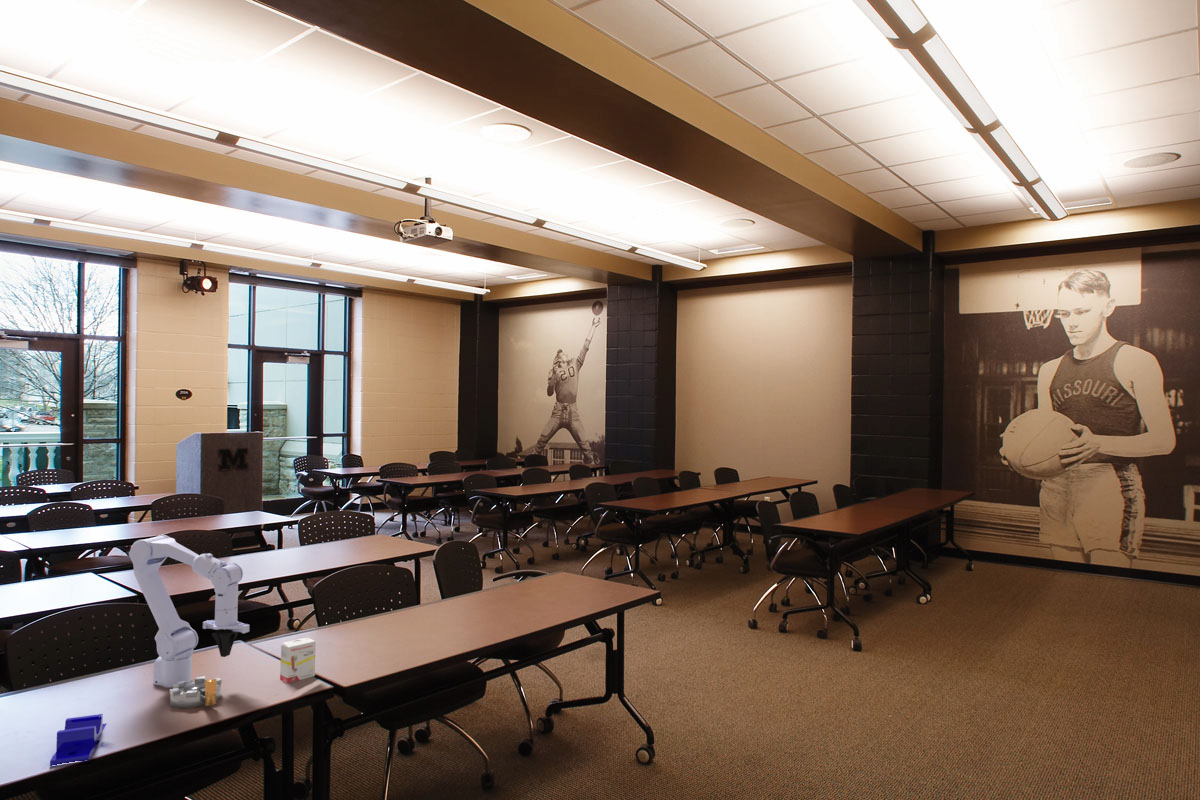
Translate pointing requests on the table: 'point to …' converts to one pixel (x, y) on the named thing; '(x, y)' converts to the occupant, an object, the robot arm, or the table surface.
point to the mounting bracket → (78, 739)
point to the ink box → (297, 660)
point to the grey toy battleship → (195, 693)
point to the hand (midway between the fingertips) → (225, 655)
